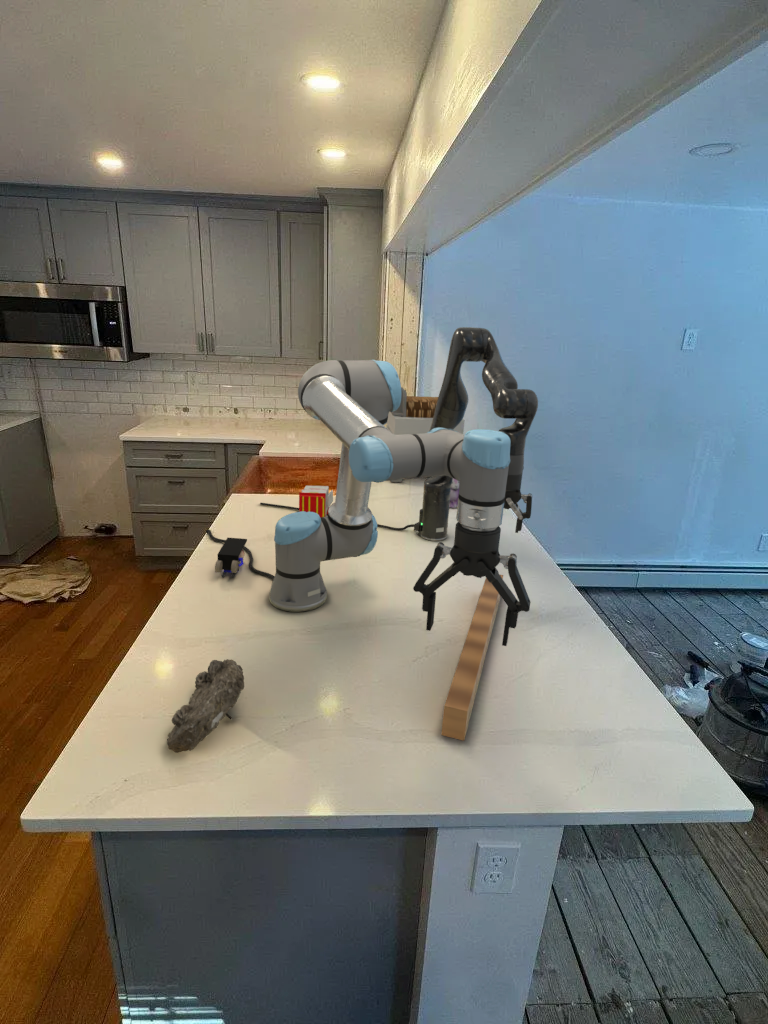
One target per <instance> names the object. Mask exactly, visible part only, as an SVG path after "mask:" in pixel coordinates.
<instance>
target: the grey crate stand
mask: <svg viewBox="0 0 768 1024" xmlns="http://www.w3.org/2000/svg"><path fill="white" fill-rule="evenodd" d="M407 394H408V393H407V390H406V389H404V388H403V387H402V386H401V403H400V406H399V408H398V409H397V410H396V411H393V412H390V411H389V414H388V420H387V423H386V425H385V427H386V428H387V429H388V430H389V431H391V432H392V433H393V434H395V435H403V434H423V433H427V432H429V430H430V427H431V424H432V420H433V416H434V412H435V408H436V404H437V400H438V396H415V395H414V396H413V395H412V396H411V395H407ZM464 429H465V419H464V418H463V419H462V421H461V422H460V423H459V424H458V425H457V426H456V427H455V428H454V429H453V430H454V431H457V432H458V433H461V434H463V435H464V431H465V430H464ZM390 482H391V483H402V482H403V479H400V480H391V481H390Z"/></svg>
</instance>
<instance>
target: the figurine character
mask: <svg viewBox="0 0 768 1024" xmlns="http://www.w3.org/2000/svg"><path fill="white" fill-rule="evenodd" d="M225 540H226V541H225V543H223V544H222V546H221V547H220V549H219V551H218V552H217V560H216V562H215V564H214V572H215V573H221V577H222V578H224V577H225V576H226V574H227V573H230V574H231V573H232V574H231V578H234V577H235V575H236V573H237V572H239V571H240V567H242V566H243V565H244V564H245V562H244V558H245V550H244V549H243V548H244V546H245V547H246V544H247V542H248V538H240V537H226V539H225Z"/></svg>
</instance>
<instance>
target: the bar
mask: <svg viewBox="0 0 768 1024" xmlns="http://www.w3.org/2000/svg"><path fill="white" fill-rule="evenodd" d="M499 575H500V576H501V578H502V579H503V580H504V575H503V574H499ZM501 598H502V597H501V596H500V595H499V593H498V592H497V590H496V589H495V588H494V586H493V585H492V583H490V582H489V581H488V579H487V578H486V577H485V579H484V582H483V585H482V589H481V591H480V595H479V598H478V601H477V603H476V607H475V610H474V613H473V617H472V620H471V622H470V625H469V628H468V631H467V634H466V638H465V641H464V644H463V646H462V650H461V653H460V656H459V659H458V662H457V665H456V668H455V671H454V674H453V678H452V681H451V684H450V686H449V690H448V693H447V696H446V699H445V702H444V704H443V711H442V712H443V713H442V723H441V724H442V725H441V733H440V734H441V736H444V737H446V738H447V737H448V738H451V739H456V740H459V741H462V742H463V741H464V742H465V740H466V734H467V732H468V728H469V723H470V719H471V715H472V711H473V708H474V704H475V700H476V695H477V692H478V687H479V684H480V681H481V676H482V673H483V667H484V664H485V660H486V656H487V652H488V649H489V644H490V640H491V636H492V632H493V628H494V625H495V620H496V617H497V613H498V608H499V605H500V601H501Z"/></svg>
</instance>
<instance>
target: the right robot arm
mask: <svg viewBox="0 0 768 1024" xmlns="http://www.w3.org/2000/svg"><path fill="white" fill-rule="evenodd" d="M465 362H471V363H472V362H473V363H478V362H479V363H480V362H483V363H484V366H483V368H482V371H481V379H482V383H483V384H484V386H485V388H486V389H487V390H488V392H489V393H490V396H491V401H492V408H493V409H492V410H493V412H494V414H495V415H496V416H497V417H499V418H501V419H505V420H506V419H509V420H510V419H511V420H512V419H514V421H513V423H512V424H511V425H508V426H504V427H501V428H500V429H499V430H498V431H500V432H503V433H505V434H507V435H508V436H509V438H510V441H511V443H510V464H509V469H508V476H507V484H506V491H505V498H504V509H505V510H510V509H511V511H512V512H513V513H514V514H515V516H516V517H517V518H516V523H515V532H514V533H516V534H519V532H521V531H522V528H523V523H524V522H523V521H524V520H525V519H531V515H532V507H533V505H532V504H533V494H532V493H530V492H529V493H528V494H525V493H522V492H521V489H522V480H523V473H524V468H525V467H524V465H525V450H526V444H527V443H526V442H527V436H528V434H529V432H530V429H531V427H532V424H533V422H534V420H535V417H536V415H537V412H538V408H539V399H538V396H537V394H536V392H535V391H534V390H532V389H528V388H518V387H519V385H518V380H517V379H516V378H515V376H514V375H513V374H512V372H511V371H510V370H509V368H508V366H506V364H505V362H504V360H503V358H502V355H501V352H500V350H499V347H498V345H497V343H496V340H495V338H494V336H493V334H492V333H491V331H490V330H489V329H487V328H484V327H472V326H471V327H470V326H469V327H467V326H466V327H465V326H462V327H460V326H459V327H457V328H456V329H455V330H454V332H453V334H452V336H451V340H450V345H449V350H448V355H447V361H446V367H445V371H444V376H443V380H442V383H441V387H440V390H439V393H438V396H437V397H438V400H437V404H436V408H435V412H434V416H433V420H432V424H431V427H430V430H432V429H434V428H446V429H454V428H455V427H456V426H457V425H458V424H459V423H460V422H461V421H462V419H464V417H465V413H466V411H467V408H468V404H469V394H468V390H467V387H466V386H465V383H464V381H463V378H462V375H461V369H462V365H463V363H465ZM430 430H429V431H430ZM452 481H453V478H452V477H450V476H446V475H443V476H433V477H427V479H425V480H424V482H423V493H422V496H423V497H422V506H421V508H420V509H419V516H418V522H415V523H414V524H406V525H405V526H403V527H392V526H388V525H385V524H379V523H377V528H382V529H387V530H391V531H405V530H407V529H409V528H413V531H415V532H417V535H418V536H420V538H421V539H424V540H426V541H432V542H442V541H444V540H446V539H447V538H448V525H449V517H450V516H449V514H450V507H449V505H450V493H451V485H452ZM521 500H523V503H524V504H525V512H523V511H522V509H521V507H520V505H519V502H520V501H521ZM259 505H260V506H267V507H274V508H281V509H288V510H293V511H299V507H295V506H288V505H283V504H282V505H281V504H276V503H275V504H274V503H268V502H260V503H259ZM504 509H503V510H504ZM327 516H328V514H326V517H327Z"/></svg>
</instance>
